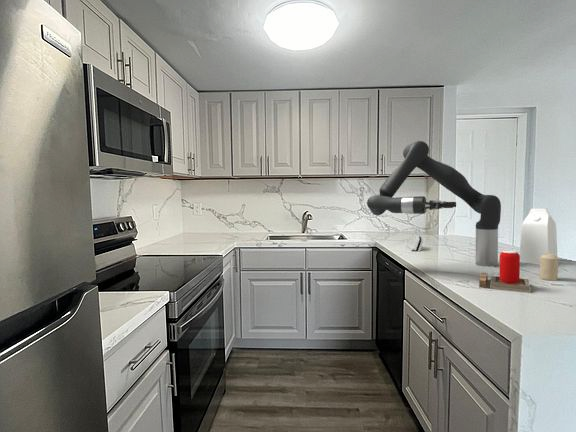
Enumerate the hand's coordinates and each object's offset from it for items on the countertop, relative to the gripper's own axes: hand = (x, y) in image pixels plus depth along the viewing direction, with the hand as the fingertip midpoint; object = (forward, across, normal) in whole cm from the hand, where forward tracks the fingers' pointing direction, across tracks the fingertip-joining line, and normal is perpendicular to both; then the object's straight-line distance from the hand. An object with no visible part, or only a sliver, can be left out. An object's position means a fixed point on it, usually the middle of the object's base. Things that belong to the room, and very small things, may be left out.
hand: (454, 204), depth 140 cm
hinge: (-30, +66, +30) cm, 78 cm away
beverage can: (+19, -7, +29) cm, 35 cm away
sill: (+11, -6, +30) cm, 32 cm away
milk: (+31, +48, +30) cm, 65 cm away
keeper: (+19, -7, +30) cm, 36 cm away
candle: (+32, +12, +30) cm, 46 cm away
